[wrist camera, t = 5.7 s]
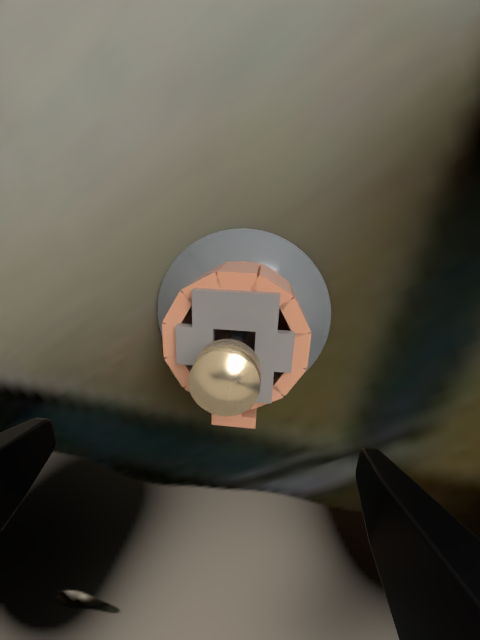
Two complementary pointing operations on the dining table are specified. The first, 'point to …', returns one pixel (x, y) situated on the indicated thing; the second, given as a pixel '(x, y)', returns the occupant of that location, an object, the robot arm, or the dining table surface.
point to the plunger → (227, 373)
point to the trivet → (260, 250)
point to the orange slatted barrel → (240, 328)
